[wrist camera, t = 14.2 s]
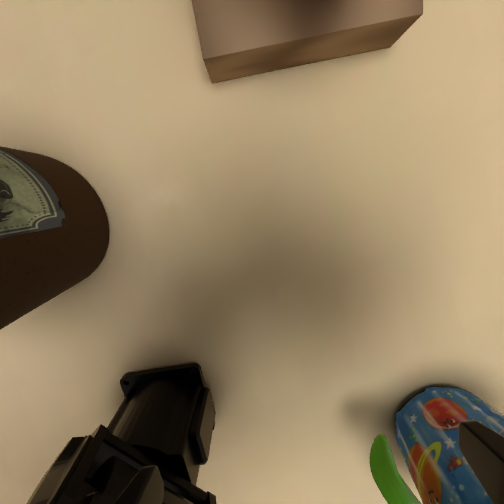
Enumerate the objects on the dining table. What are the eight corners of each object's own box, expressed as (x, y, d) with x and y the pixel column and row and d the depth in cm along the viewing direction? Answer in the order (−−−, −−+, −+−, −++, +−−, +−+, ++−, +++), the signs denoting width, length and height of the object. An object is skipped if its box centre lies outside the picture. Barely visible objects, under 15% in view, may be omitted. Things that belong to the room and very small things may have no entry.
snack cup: (547, 395, 21) (799, 570, 12) (480, 483, 24) (642, 691, 14) (380, 340, 20) (504, 485, 10) (327, 439, 23) (387, 635, 13)
